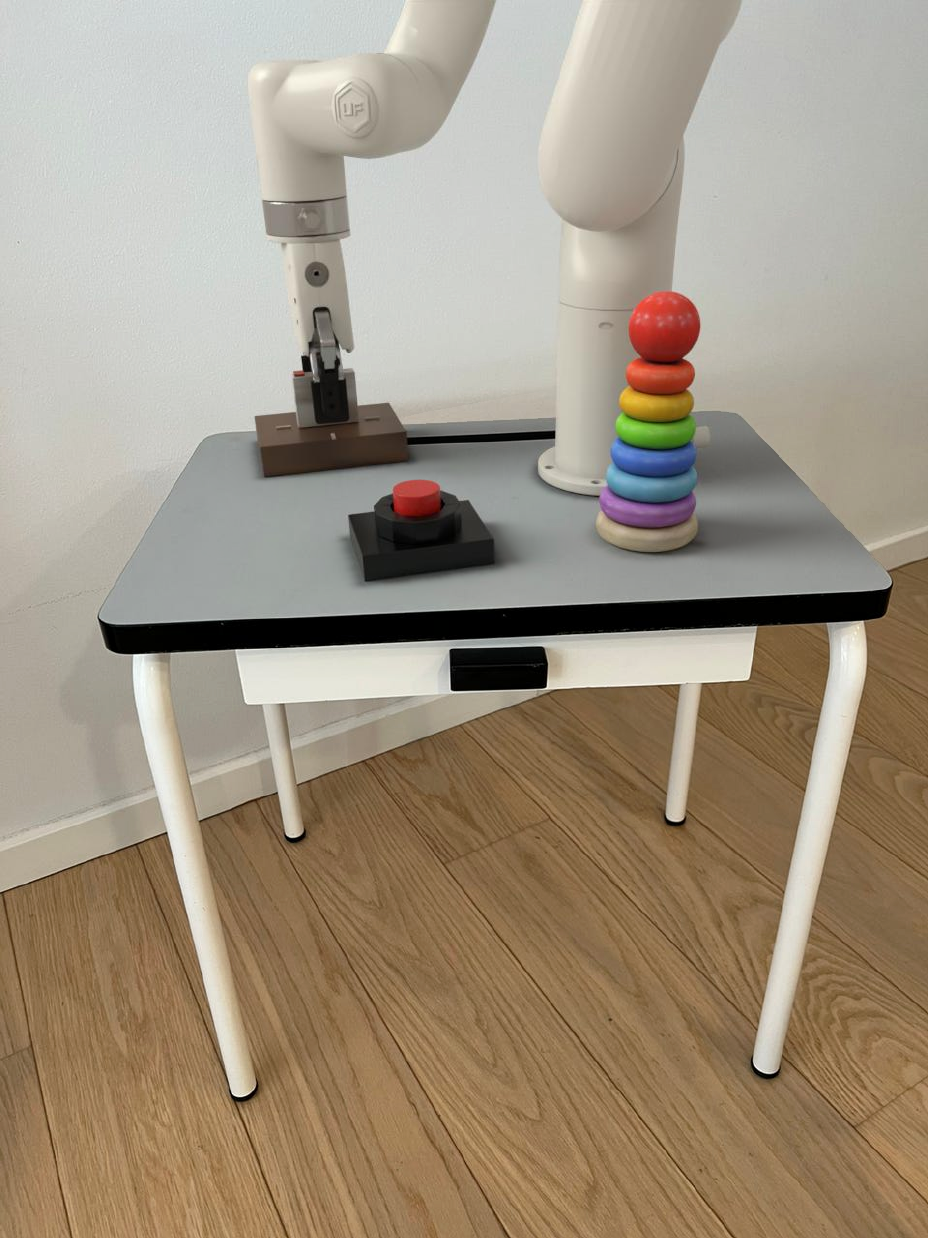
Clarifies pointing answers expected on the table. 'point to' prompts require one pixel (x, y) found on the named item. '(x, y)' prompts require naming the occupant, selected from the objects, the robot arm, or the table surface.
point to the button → (416, 497)
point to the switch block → (419, 539)
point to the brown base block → (330, 442)
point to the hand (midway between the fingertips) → (326, 407)
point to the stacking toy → (654, 433)
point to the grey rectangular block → (305, 400)
